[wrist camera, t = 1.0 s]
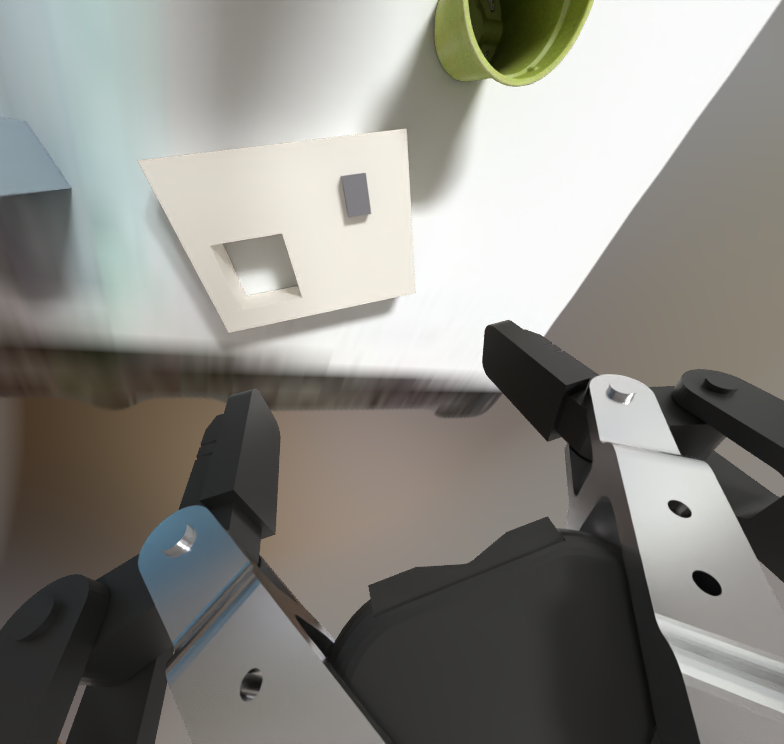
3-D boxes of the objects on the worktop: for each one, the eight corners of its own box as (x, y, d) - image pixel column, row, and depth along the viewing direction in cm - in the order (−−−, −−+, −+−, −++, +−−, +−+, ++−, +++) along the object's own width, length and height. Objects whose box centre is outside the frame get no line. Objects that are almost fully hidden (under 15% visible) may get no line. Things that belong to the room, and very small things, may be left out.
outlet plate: (158, 161, 23) (132, 160, 19) (393, 132, 26) (409, 127, 22) (235, 316, 31) (227, 336, 28) (404, 281, 34) (418, 295, 31)
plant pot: (389, 24, 22) (431, -38, 15) (479, -119, 19) (577, -269, 13) (457, 133, 27) (510, 123, 21) (534, 33, 25) (625, -17, 18)
